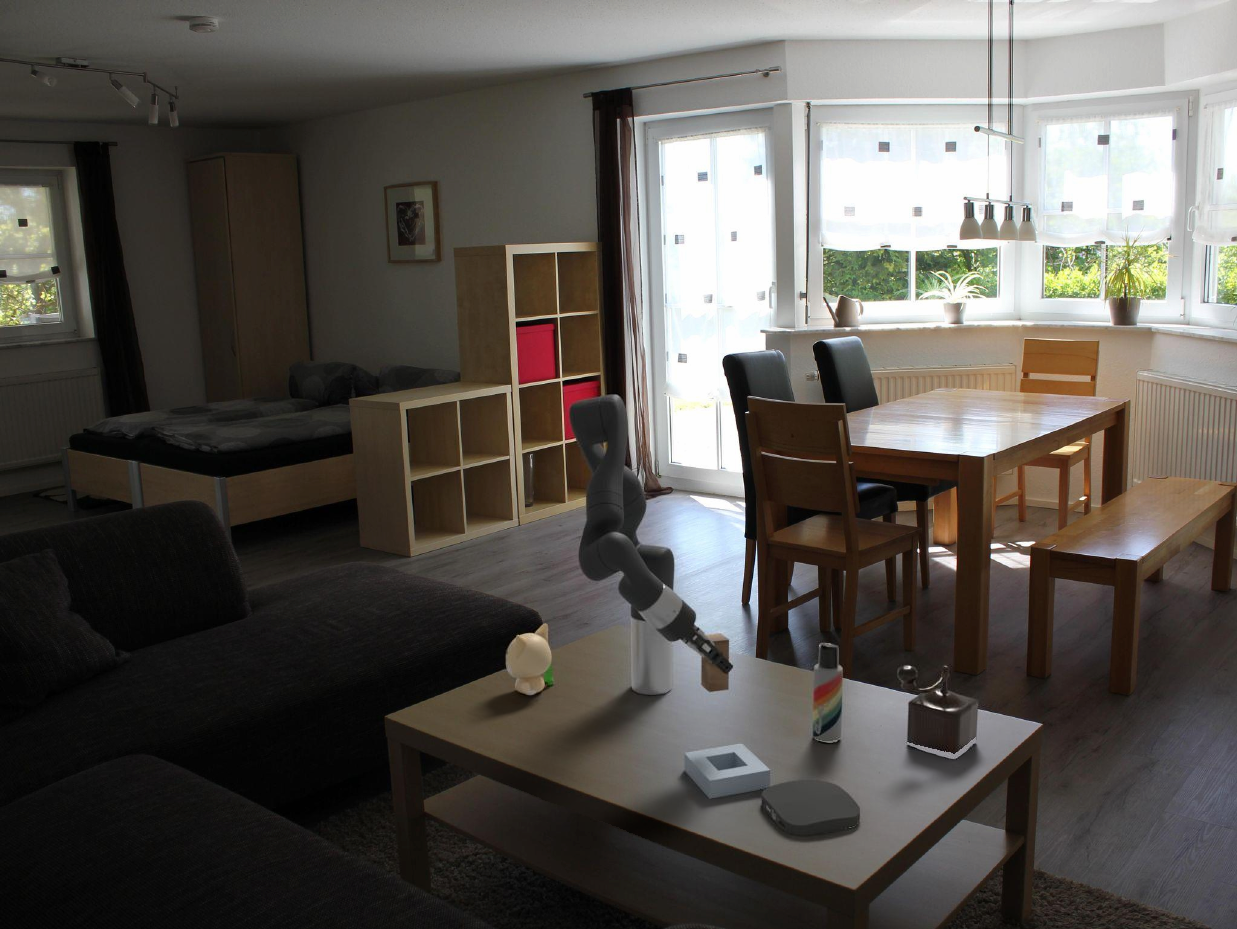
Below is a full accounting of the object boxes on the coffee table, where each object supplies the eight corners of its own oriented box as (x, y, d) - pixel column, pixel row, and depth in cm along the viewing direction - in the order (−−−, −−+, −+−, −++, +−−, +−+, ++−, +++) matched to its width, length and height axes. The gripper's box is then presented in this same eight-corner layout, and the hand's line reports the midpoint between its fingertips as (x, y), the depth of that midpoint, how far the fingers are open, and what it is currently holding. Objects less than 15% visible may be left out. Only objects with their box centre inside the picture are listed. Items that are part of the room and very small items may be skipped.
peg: (701, 684, 207) (701, 635, 206) (720, 682, 209) (720, 633, 207) (709, 692, 204) (709, 641, 202) (728, 689, 205) (729, 639, 203)
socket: (684, 770, 203) (684, 752, 202) (741, 760, 207) (741, 743, 206) (709, 798, 192) (709, 780, 191) (770, 787, 196) (770, 769, 195)
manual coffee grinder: (926, 728, 220) (929, 645, 217) (977, 743, 213) (982, 657, 210) (889, 753, 209) (892, 666, 206) (943, 770, 202) (947, 680, 199)
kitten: (535, 676, 252) (533, 615, 249) (568, 685, 246) (567, 622, 243) (492, 696, 240) (490, 632, 237) (526, 706, 234) (524, 641, 231)
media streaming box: (868, 827, 182) (868, 811, 182) (789, 841, 178) (790, 824, 177) (828, 788, 196) (828, 773, 195) (754, 800, 192) (754, 785, 191)
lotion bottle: (807, 738, 216) (808, 644, 213) (822, 729, 220) (824, 637, 217) (831, 746, 212) (833, 650, 209) (846, 737, 216) (849, 643, 213)
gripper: (693, 607, 194) (753, 663, 200) (665, 586, 207) (722, 640, 213) (666, 638, 193) (726, 694, 199) (640, 615, 207) (697, 668, 212)
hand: (724, 665), depth 206 cm, fingers closed on peg, 4 cm apart
